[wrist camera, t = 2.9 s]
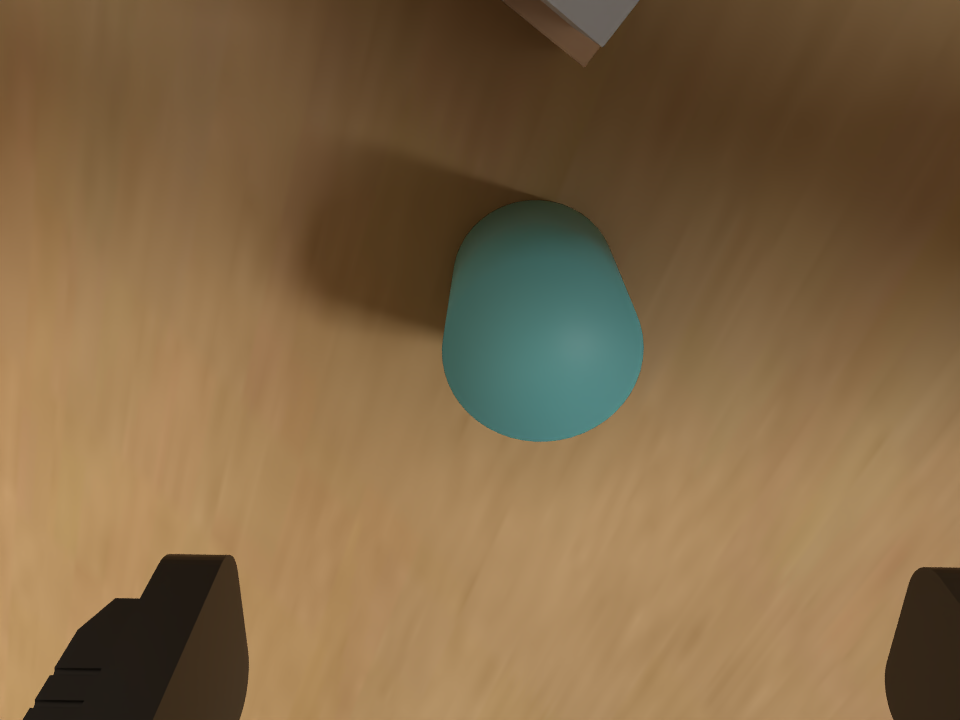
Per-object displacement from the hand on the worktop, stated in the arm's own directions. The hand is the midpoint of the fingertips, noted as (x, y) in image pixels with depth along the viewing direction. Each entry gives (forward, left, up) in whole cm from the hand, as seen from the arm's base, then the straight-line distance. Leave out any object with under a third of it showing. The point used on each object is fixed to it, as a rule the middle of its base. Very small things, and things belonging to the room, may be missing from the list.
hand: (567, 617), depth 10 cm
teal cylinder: (-1, 0, -14) cm, 14 cm away
